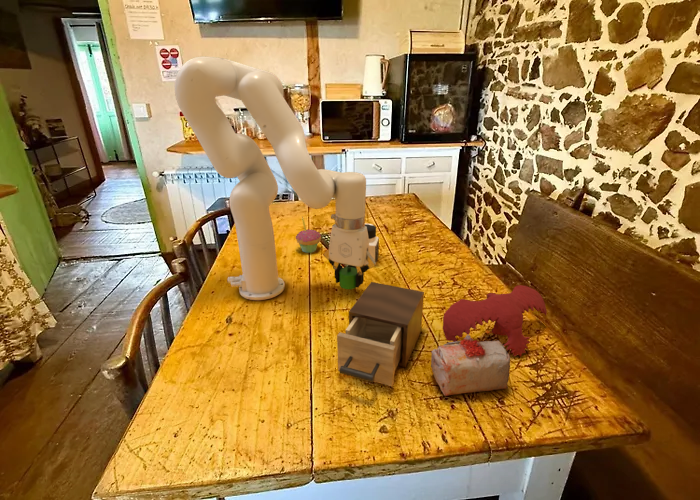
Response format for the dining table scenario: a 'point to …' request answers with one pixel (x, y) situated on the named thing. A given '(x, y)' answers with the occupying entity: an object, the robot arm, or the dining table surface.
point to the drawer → (370, 350)
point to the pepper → (347, 277)
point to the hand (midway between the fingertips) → (348, 282)
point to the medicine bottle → (372, 242)
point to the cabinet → (392, 311)
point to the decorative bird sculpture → (495, 316)
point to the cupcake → (308, 239)
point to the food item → (470, 366)
